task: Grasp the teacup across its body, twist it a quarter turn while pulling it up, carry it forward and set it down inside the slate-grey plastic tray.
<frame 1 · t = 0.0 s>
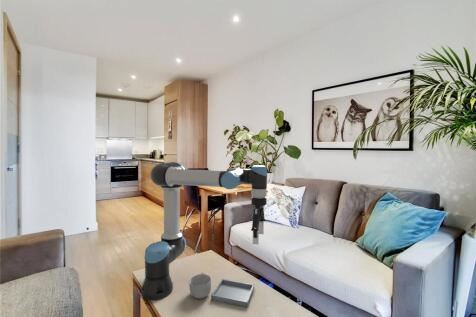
hand: (258, 238, 120), 28 cm above the table, fingers open, 13 cm apart
teacup: (201, 293, 121), on the table
tray: (233, 294, 120), on the table
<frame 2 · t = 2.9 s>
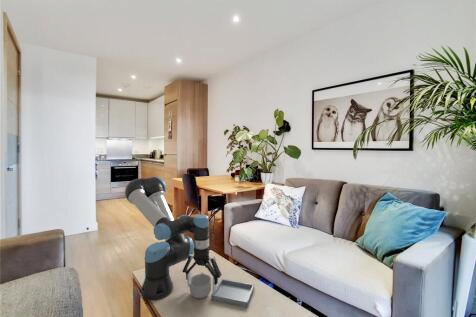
hand: (201, 288, 121), 3 cm above the table, fingers open, 13 cm apart
nothing on the table moved.
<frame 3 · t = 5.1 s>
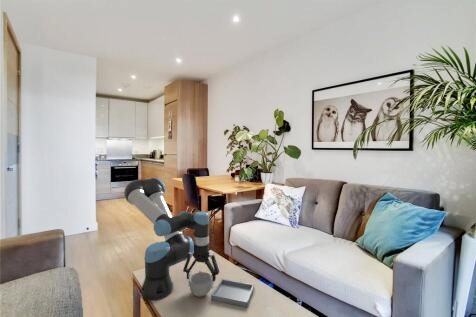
hand: (201, 286, 121), 3 cm above the table, fingers closed on teacup, 11 cm apart
teacup: (200, 291, 121), point 1 cm above the table, touching gripper
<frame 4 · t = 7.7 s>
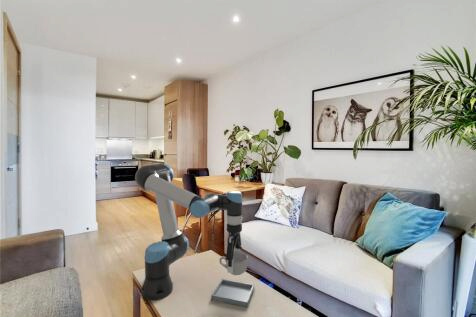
hand: (234, 266, 119), 14 cm above the table, fingers closed on teacup, 11 cm apart
teacup: (233, 272, 119), point 12 cm above the table, touching gripper
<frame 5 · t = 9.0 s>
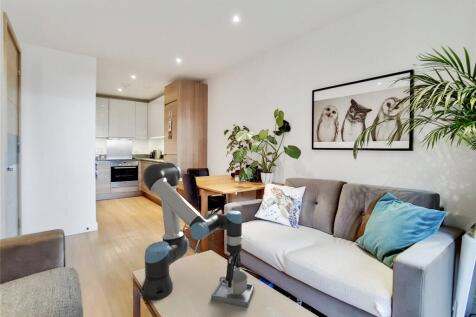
hand: (233, 286, 120), 4 cm above the table, fingers closed on teacup, 11 cm apart
teacup: (233, 291, 120), point 2 cm above the table, touching gripper
when the fingers open (3 cm above the table, at t = 10.2 s): teacup stays where it is, resting on tray.
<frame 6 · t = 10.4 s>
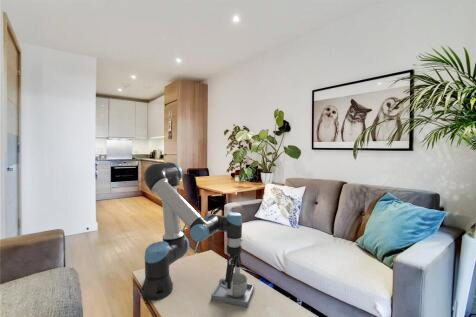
hand: (233, 286, 120), 4 cm above the table, fingers open, 13 cm apart
teacup: (233, 293, 120), resting on tray
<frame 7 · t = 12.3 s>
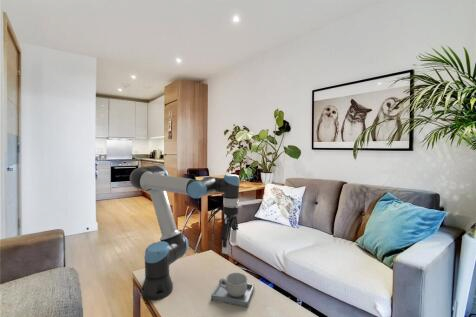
hand: (229, 247, 121), 23 cm above the table, fingers open, 13 cm apart
nothing on the table moved.
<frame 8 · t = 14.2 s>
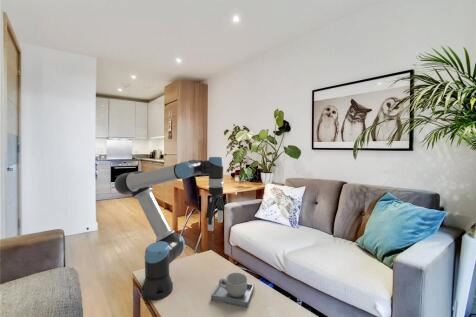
hand: (215, 226, 127), 32 cm above the table, fingers open, 13 cm apart
nothing on the table moved.
at the end: teacup inside the target area on the tray (0.2 cm from its centre), point 0.4 cm above the tray's base; teacup tilted 0°; the gripper is holding nothing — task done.
